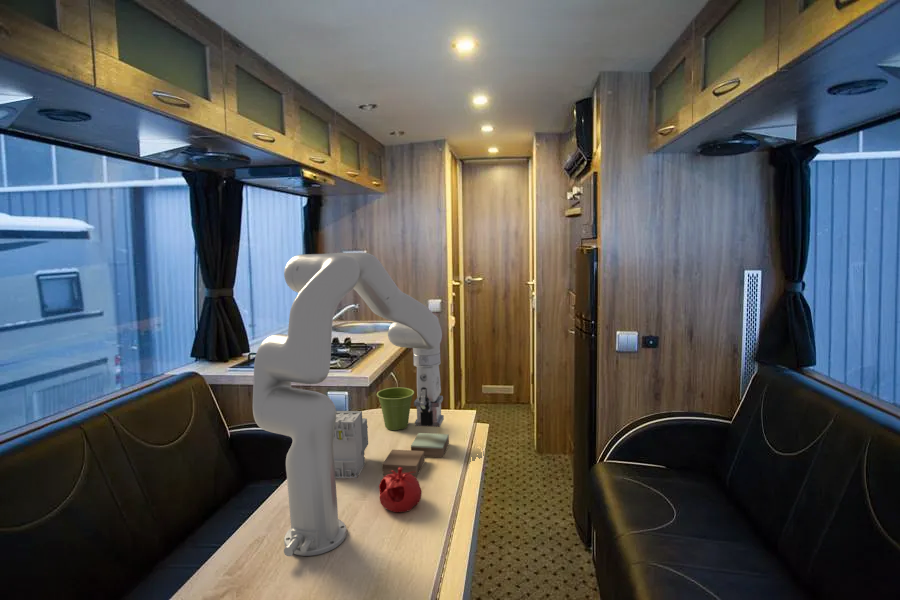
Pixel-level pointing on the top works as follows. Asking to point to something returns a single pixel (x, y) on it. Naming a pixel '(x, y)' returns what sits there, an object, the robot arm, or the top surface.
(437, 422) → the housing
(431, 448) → the stand
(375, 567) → the top surface
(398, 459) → the stand
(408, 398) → the plant pot
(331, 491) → the robot arm
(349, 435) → the circuit breaker
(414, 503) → the pomegranate
